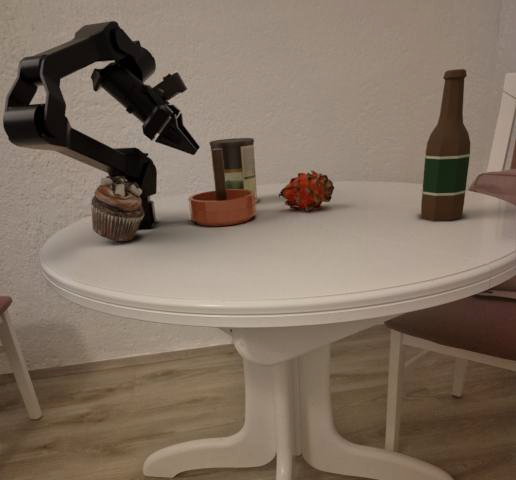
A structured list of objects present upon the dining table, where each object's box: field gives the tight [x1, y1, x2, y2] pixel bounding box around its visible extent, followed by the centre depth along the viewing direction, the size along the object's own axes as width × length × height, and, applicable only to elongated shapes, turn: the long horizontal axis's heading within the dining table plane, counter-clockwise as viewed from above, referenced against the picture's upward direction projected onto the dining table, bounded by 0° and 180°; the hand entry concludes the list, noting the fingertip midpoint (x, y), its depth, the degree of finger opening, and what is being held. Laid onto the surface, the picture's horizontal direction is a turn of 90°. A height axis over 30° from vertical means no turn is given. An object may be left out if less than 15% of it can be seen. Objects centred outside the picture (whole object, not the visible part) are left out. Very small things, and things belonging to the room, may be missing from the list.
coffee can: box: [209, 137, 258, 204], centre depth 114 cm, size 10×10×14 cm
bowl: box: [187, 189, 257, 227], centre depth 100 cm, size 14×14×5 cm
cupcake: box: [90, 175, 144, 242], centre depth 89 cm, size 10×10×10 cm
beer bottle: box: [420, 68, 471, 222], centre depth 85 cm, size 8×8×24 cm
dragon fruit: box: [278, 169, 335, 212], centre depth 103 cm, size 8×8×12 cm
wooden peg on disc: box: [210, 149, 227, 201], centre depth 98 cm, size 6×6×13 cm
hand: (197, 151), depth 97 cm, fingers open, 9 cm apart
